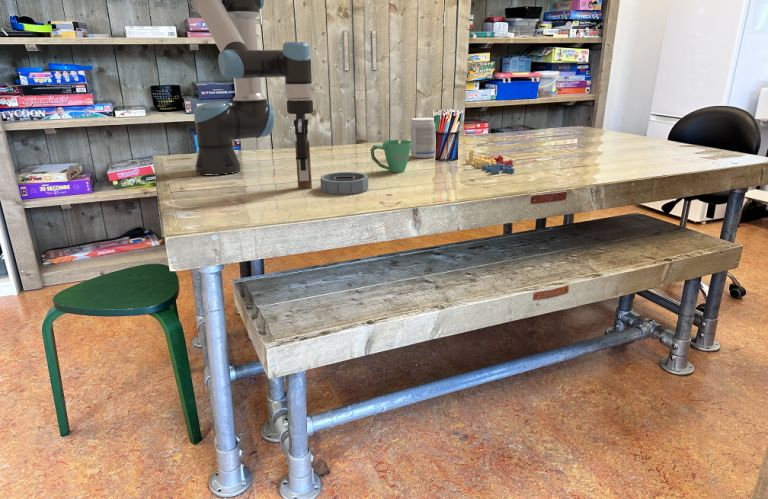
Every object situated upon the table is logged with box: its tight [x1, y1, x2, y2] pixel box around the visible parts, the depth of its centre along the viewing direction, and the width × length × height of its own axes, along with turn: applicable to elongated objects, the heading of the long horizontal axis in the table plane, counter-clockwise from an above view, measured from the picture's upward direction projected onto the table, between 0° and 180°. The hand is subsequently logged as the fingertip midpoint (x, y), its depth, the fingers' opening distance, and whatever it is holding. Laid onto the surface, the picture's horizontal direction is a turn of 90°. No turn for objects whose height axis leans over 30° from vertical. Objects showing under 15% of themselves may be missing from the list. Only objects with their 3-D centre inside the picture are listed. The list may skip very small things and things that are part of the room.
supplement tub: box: [410, 117, 436, 159], centre depth 211 cm, size 10×10×15 cm
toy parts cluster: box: [465, 149, 515, 175], centre depth 200 cm, size 45×14×5 cm, turn 13°
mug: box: [370, 139, 412, 173], centre depth 184 cm, size 15×10×10 cm
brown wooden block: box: [294, 140, 313, 190], centre depth 162 cm, size 4×2×14 cm, turn 94°
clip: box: [334, 176, 355, 181], centre depth 161 cm, size 6×4×3 cm
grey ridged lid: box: [319, 171, 369, 196], centre depth 161 cm, size 14×14×4 cm
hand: (304, 179), depth 163 cm, fingers closed on brown wooden block, 2 cm apart
